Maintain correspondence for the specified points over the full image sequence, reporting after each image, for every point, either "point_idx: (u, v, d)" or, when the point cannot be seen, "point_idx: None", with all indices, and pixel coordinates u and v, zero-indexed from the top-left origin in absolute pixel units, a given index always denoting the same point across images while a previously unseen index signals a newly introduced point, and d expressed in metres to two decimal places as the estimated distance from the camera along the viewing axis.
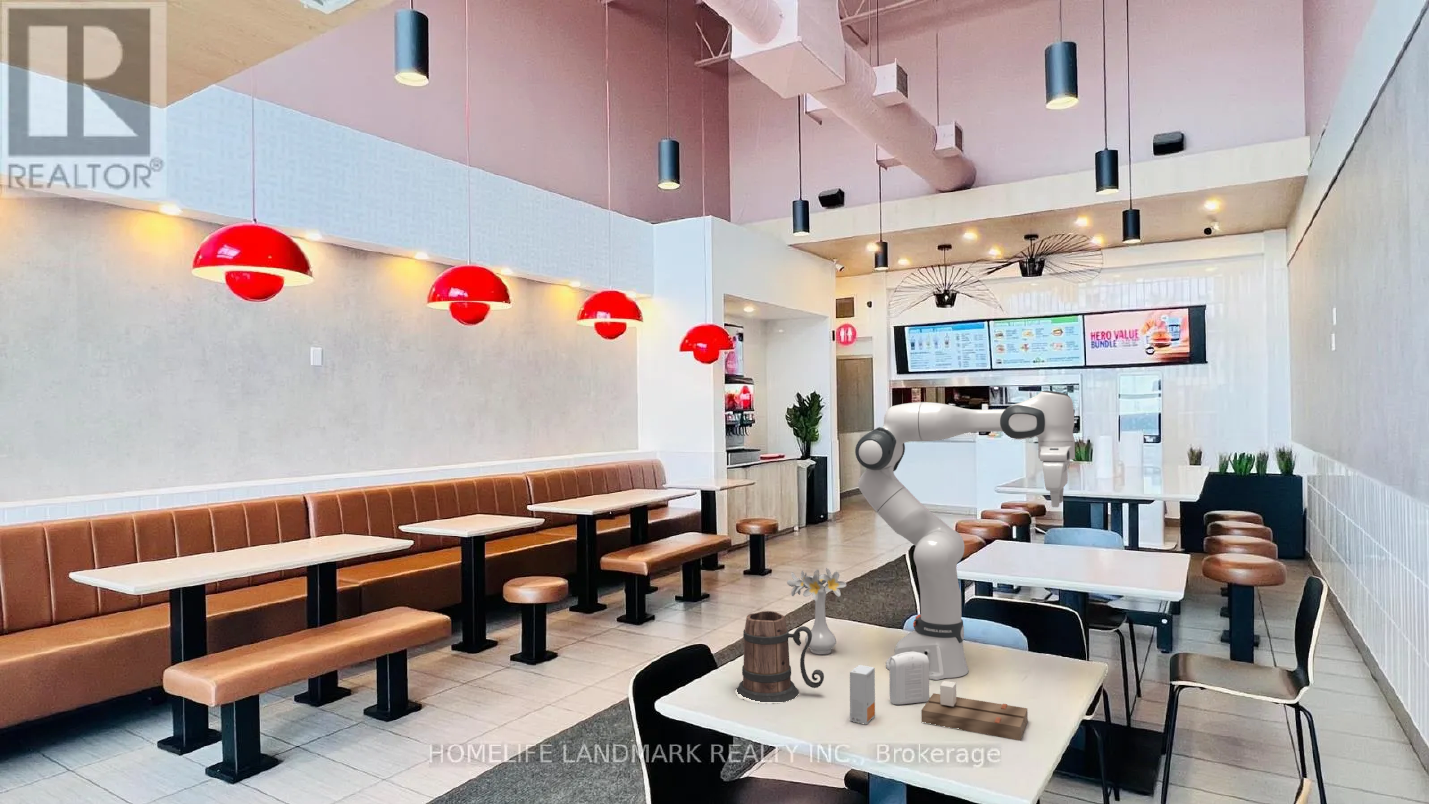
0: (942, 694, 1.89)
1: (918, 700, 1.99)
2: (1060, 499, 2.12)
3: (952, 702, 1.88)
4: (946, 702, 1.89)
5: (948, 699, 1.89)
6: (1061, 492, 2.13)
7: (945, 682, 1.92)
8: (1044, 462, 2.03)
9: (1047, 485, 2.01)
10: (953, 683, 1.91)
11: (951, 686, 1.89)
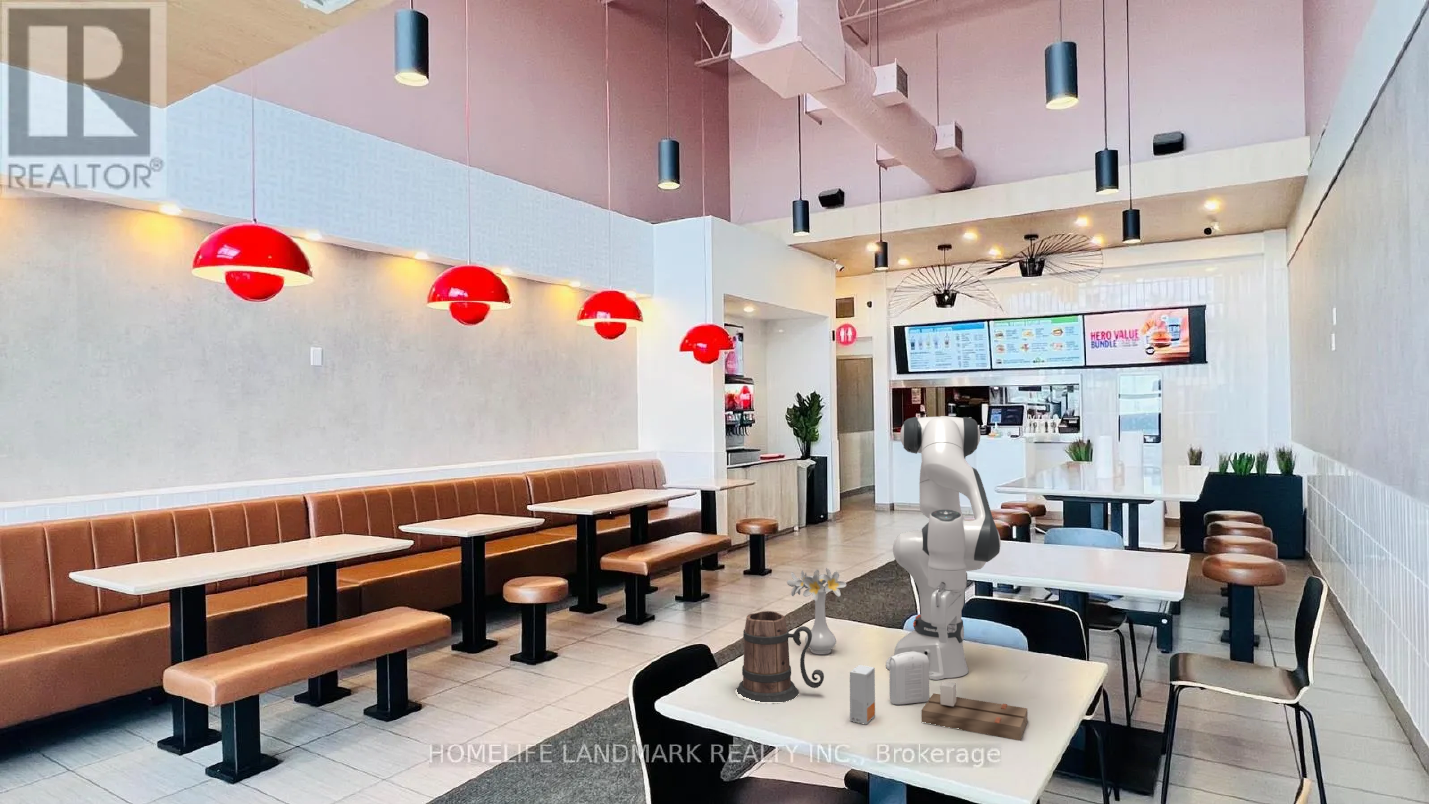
0: (942, 694, 1.89)
1: (918, 700, 1.99)
2: None
3: (952, 702, 1.88)
4: (946, 702, 1.89)
5: (948, 699, 1.89)
6: None
7: (945, 682, 1.92)
8: None
9: None
10: (953, 683, 1.91)
11: (951, 686, 1.89)
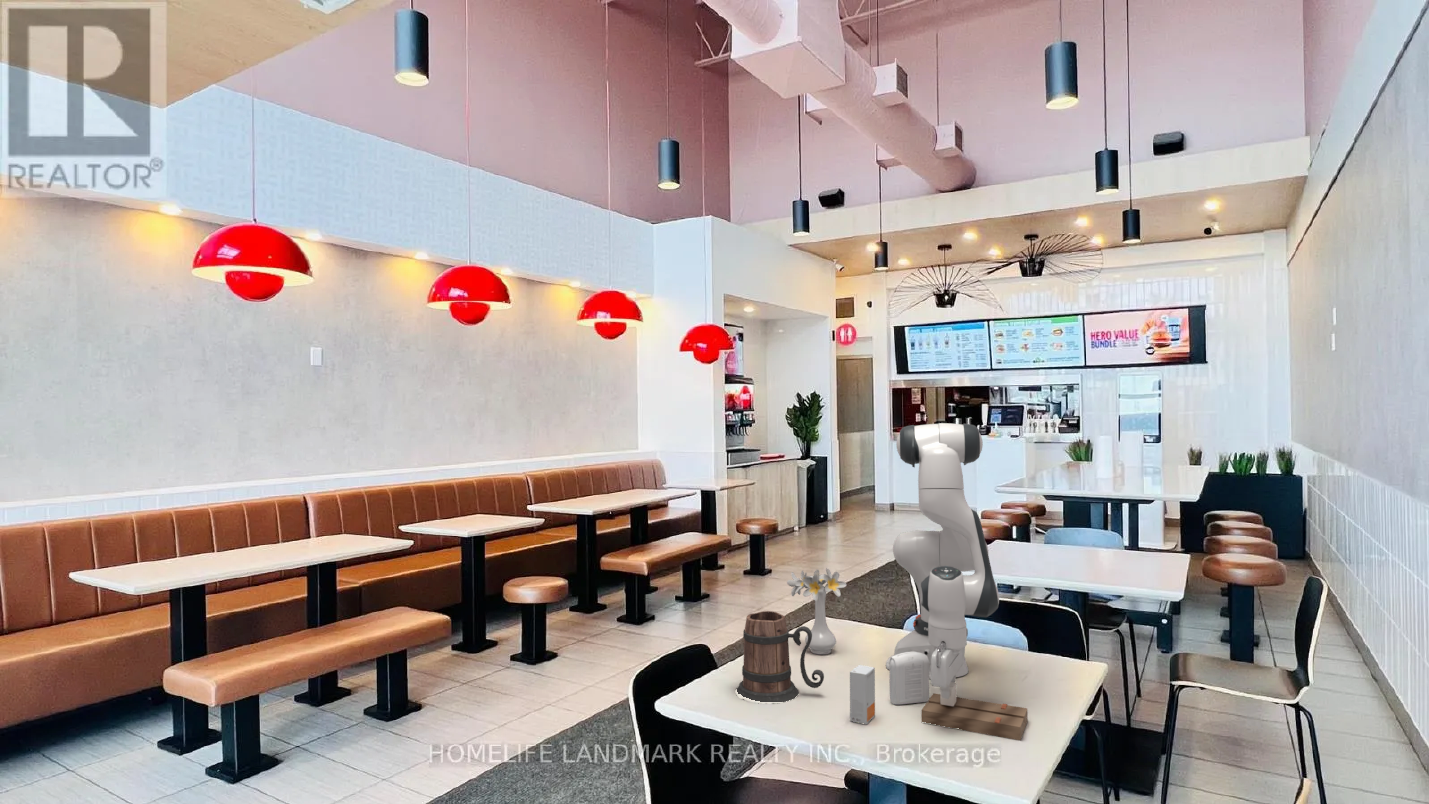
0: None
1: (918, 700, 1.99)
2: None
3: (952, 702, 1.88)
4: (946, 702, 1.89)
5: (948, 699, 1.89)
6: None
7: None
8: None
9: None
10: (953, 683, 1.91)
11: (951, 686, 1.89)
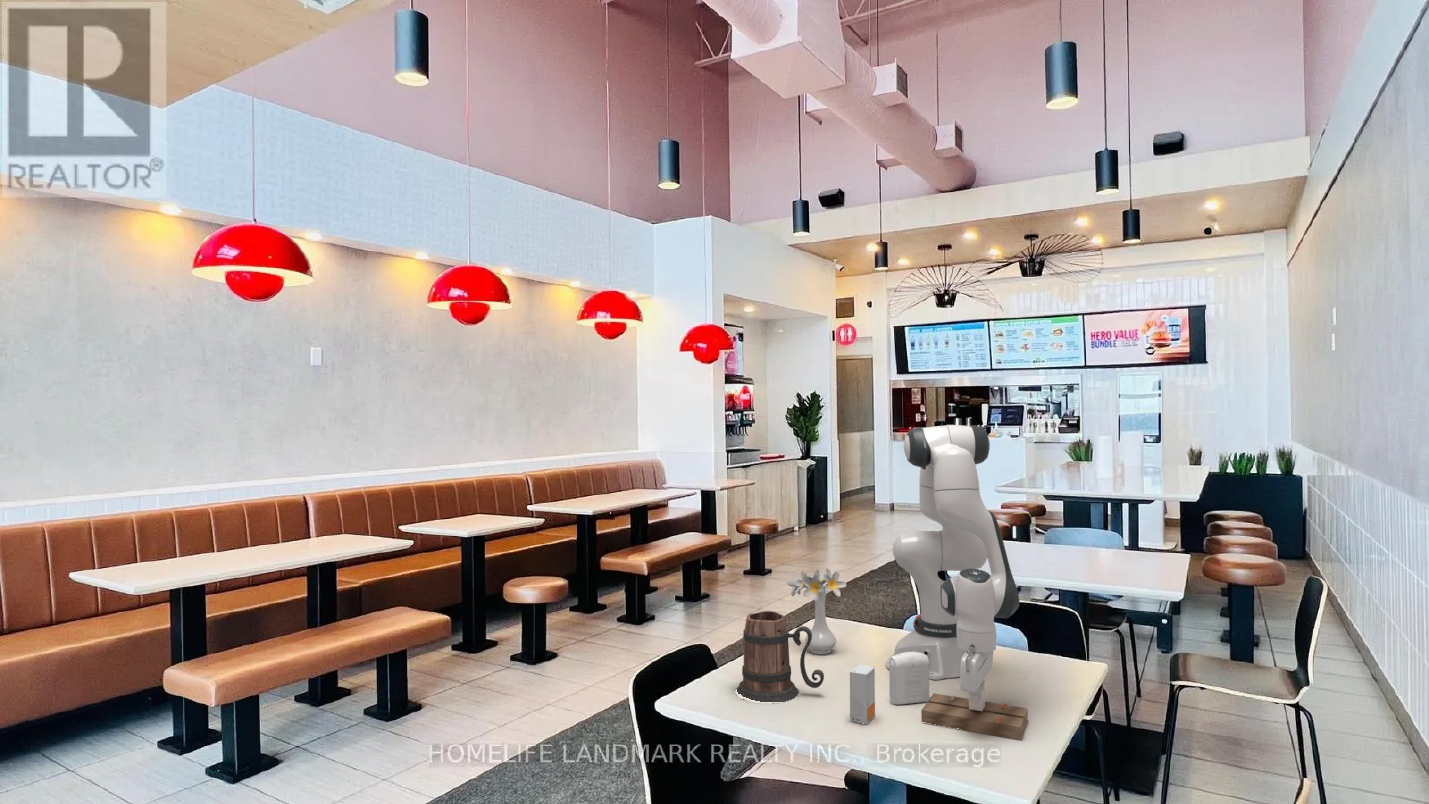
0: None
1: (918, 700, 1.99)
2: None
3: (981, 707, 1.85)
4: (975, 707, 1.86)
5: None
6: None
7: None
8: None
9: None
10: (982, 687, 1.88)
11: (980, 690, 1.86)
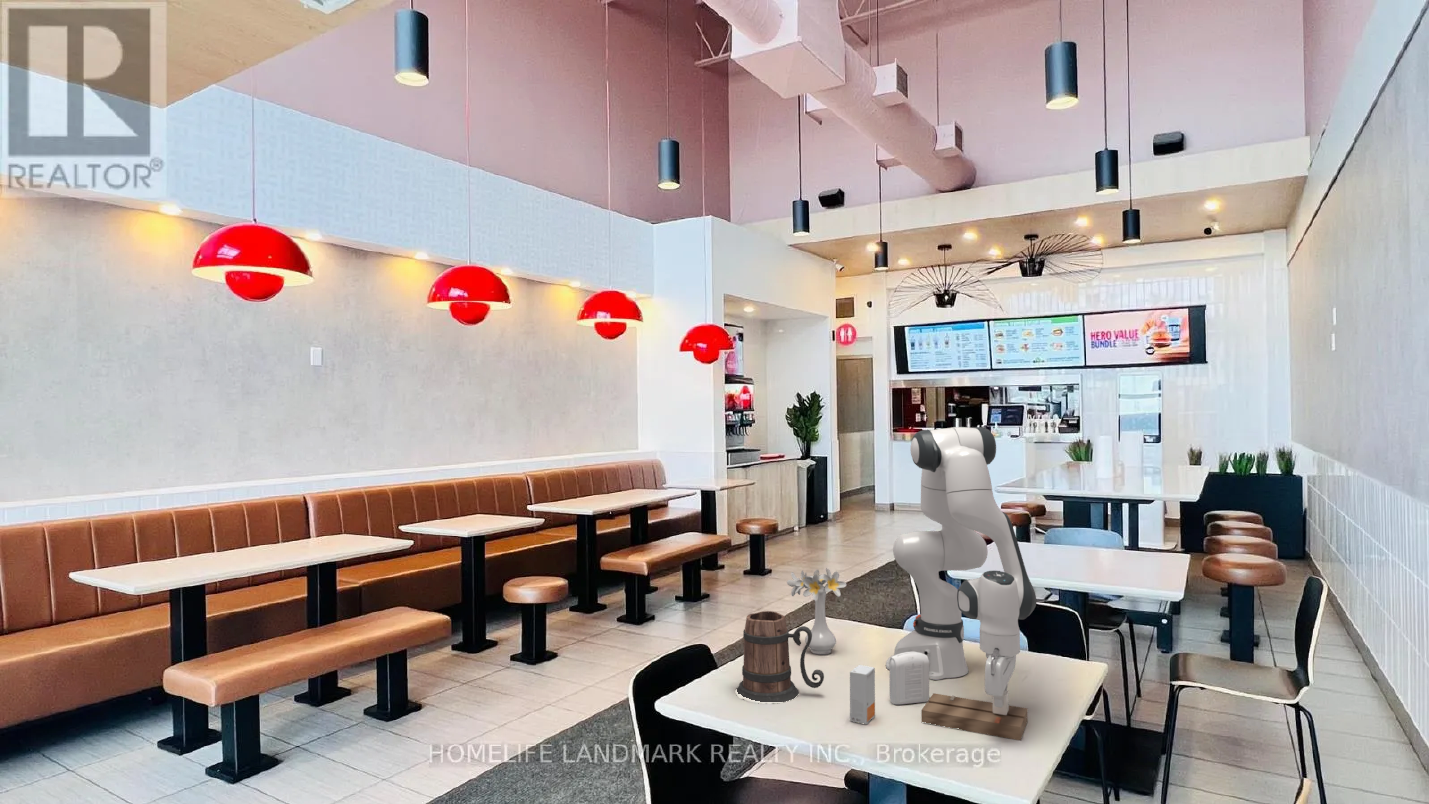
0: None
1: (918, 700, 1.99)
2: None
3: (1005, 711, 1.83)
4: (999, 711, 1.83)
5: (1000, 707, 1.83)
6: None
7: None
8: None
9: None
10: (1005, 691, 1.85)
11: (1004, 694, 1.83)
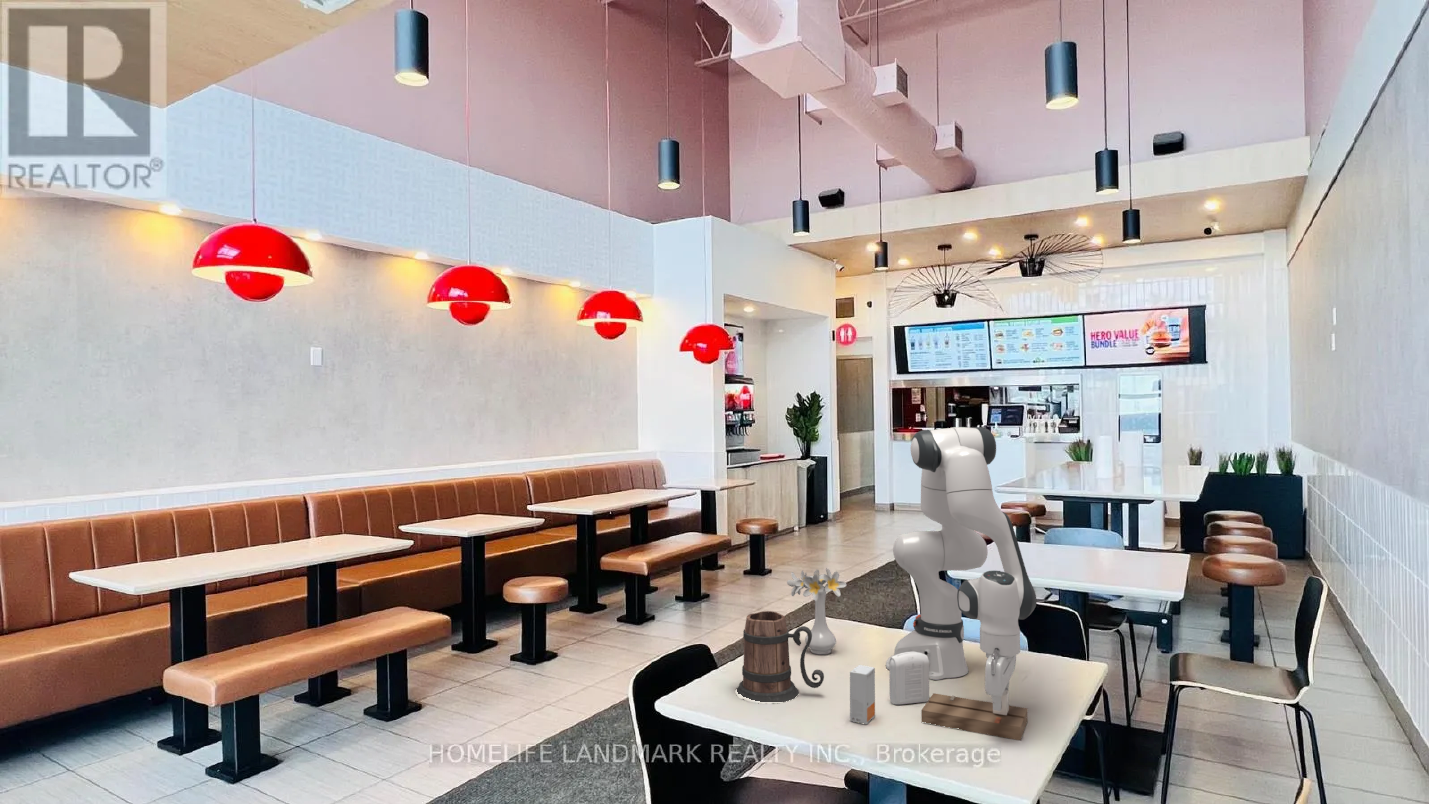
0: None
1: (918, 700, 1.99)
2: None
3: (1005, 711, 1.83)
4: (999, 711, 1.83)
5: None
6: None
7: None
8: None
9: None
10: (1005, 691, 1.85)
11: (1004, 694, 1.83)
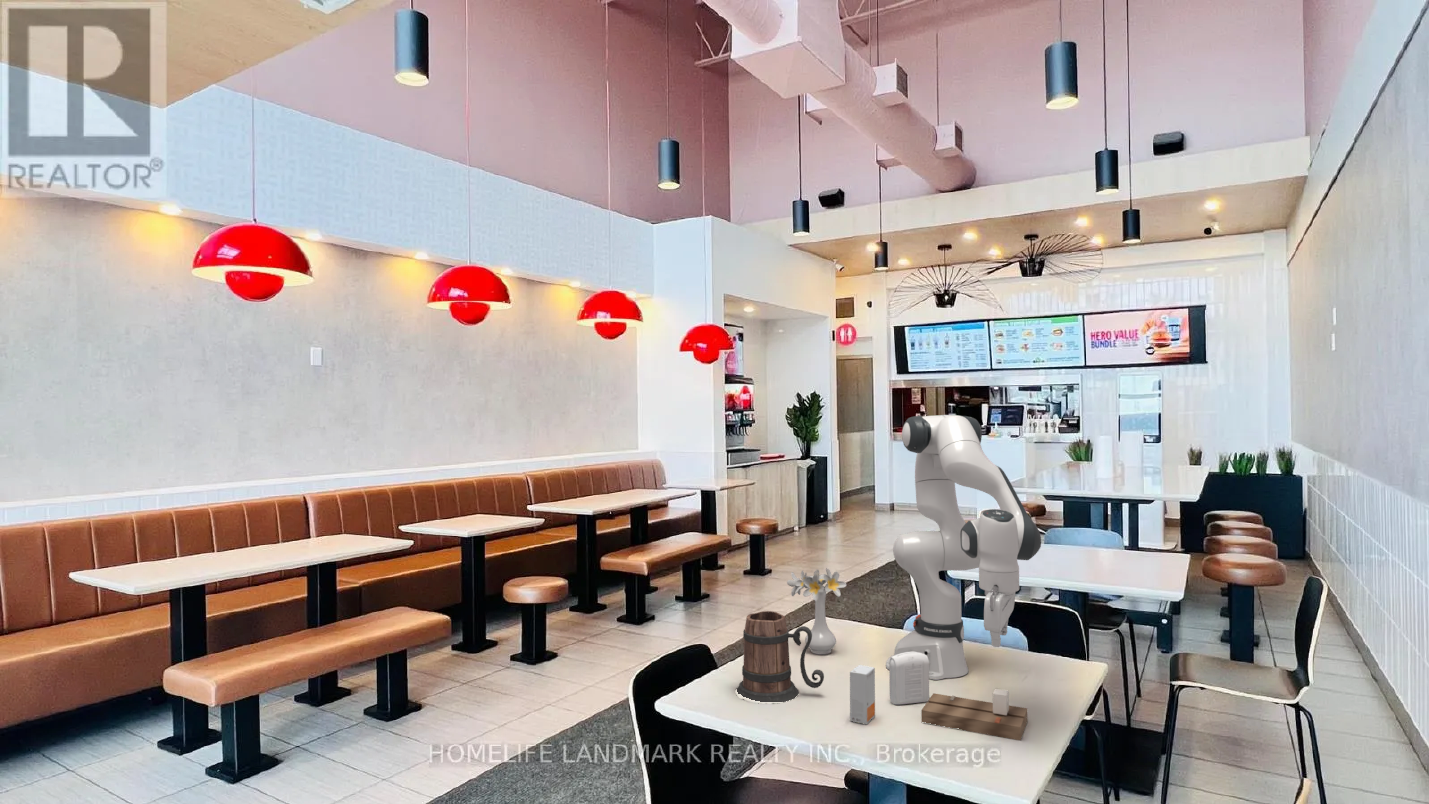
0: (995, 702, 1.84)
1: (918, 700, 1.99)
2: None
3: (1005, 711, 1.83)
4: (999, 711, 1.83)
5: (1001, 707, 1.83)
6: None
7: (997, 690, 1.86)
8: None
9: None
10: (1005, 691, 1.85)
11: (1004, 694, 1.83)
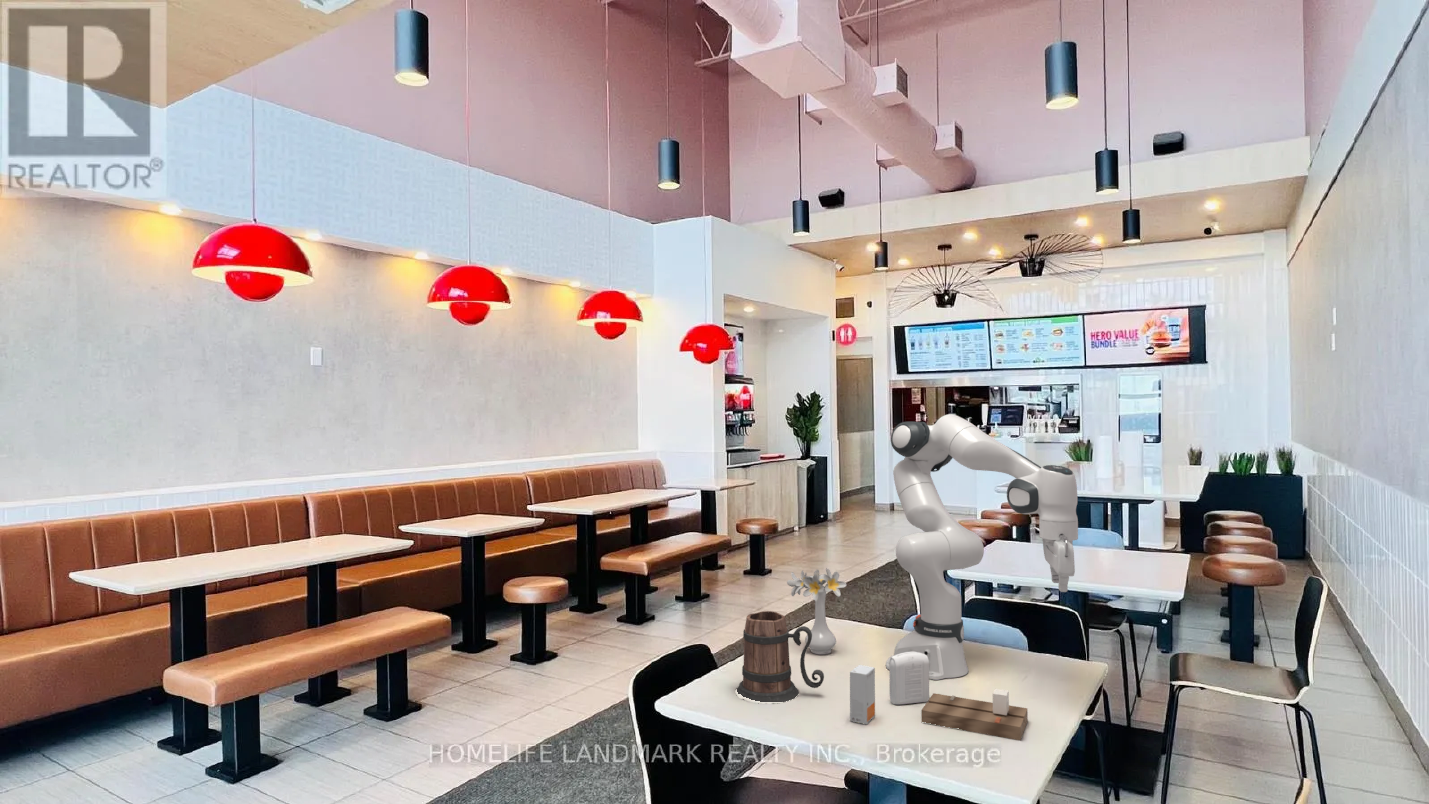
0: (995, 702, 1.84)
1: (918, 700, 1.99)
2: None
3: (1005, 711, 1.83)
4: (999, 711, 1.83)
5: (1001, 707, 1.83)
6: None
7: (997, 690, 1.86)
8: None
9: None
10: (1005, 691, 1.85)
11: (1004, 694, 1.83)
